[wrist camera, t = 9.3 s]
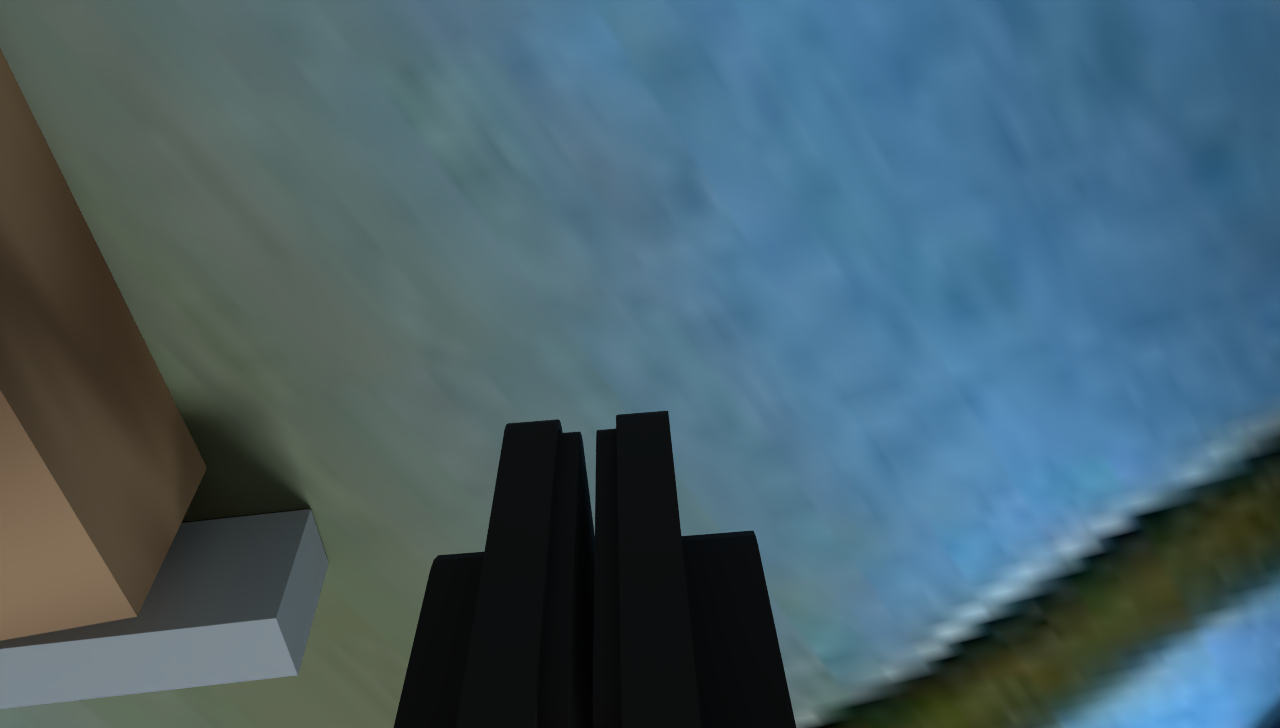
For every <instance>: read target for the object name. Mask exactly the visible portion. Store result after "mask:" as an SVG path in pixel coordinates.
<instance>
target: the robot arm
mask: <svg viewBox="0 0 1280 728" xmlns="http://www.w3.org/2000/svg"><path fill="white" fill-rule="evenodd" d="M394 728H796V724H795V720H794V715H793V710H792V705H791V701H790V696H789V691H788V686H787V682H786V677H785V672H784V667H783V662H782V658H781V653H780V648H779V643H778V639H777V634H776V629H775V624H774V619H773V615H772V610H771V605H770V600H769V596H768V591H767V586H766V581H765V576H764V572H763V567H762V562H761V557H760V553H759V548H758V543H757V540H756V536H755V533H754V531H743V532H730V533H717V534H705V535H692V536H681V529H680V519H679V510H678V500H677V491H676V481H675V472H674V462H673V453H672V443H671V434H670V424H669V415H668V411H659V412H646V413H634V414H621V415H616V429H607V430H597V435H596V502H595V535H594V527H593V519H592V511H591V503H590V495H589V487H588V479H587V471H586V463H585V455H584V447H583V440H582V435H581V432H570V433H563V432H562V427H561V423H560V420H546V421H534V422H521V423H509V424H507V425H506V427H505V431H504V437H503V443H502V449H501V455H500V461H499V467H498V473H497V479H496V485H495V492H494V498H493V504H492V510H491V516H490V522H489V528H488V534H487V540H486V546H485V552H476V553H463V554H450V555H438V556H437V557H436V558H435V559H434V561H433V564H432V567H431V570H430V574H429V578H428V582H427V586H426V591H425V595H424V599H423V604H422V608H421V612H420V617H419V621H418V625H417V629H416V634H415V638H414V642H413V647H412V651H411V655H410V659H409V664H408V668H407V672H406V677H405V681H404V685H403V690H402V694H401V698H400V702H399V707H398V711H397V715H396V720H395V724H394Z"/></svg>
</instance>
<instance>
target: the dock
mask: <svg viewBox="0 0 1280 728" xmlns="http://www.w3.org/2000/svg"><path fill="white" fill-rule="evenodd" d="M327 567H328V560H327V557H326V554H325V551H324V548H323V545H322V542H321V539H320V535H319V532H318V529H317V526H316V523H315V520H314V517H313V514H312V511H311V509H306V510H297V511H288V512H278V513H269V514H260V515H251V516H242V517H232V518H223V519H214V520H205V521H195V522H186V523H181V525H180V527H179V529H178V531H177V533H176V535H175V537H174V540H173V542H172V544H171V546H170V548H169V550H168V552H167V554H166V556H165V559H164V561H163V563H162V565H161V567H160V569H159V571H158V573H157V576H156V578H155V580H154V582H153V584H152V586H151V588H150V590H149V593H148V595H147V597H146V599H145V601H144V603H143V605H142V607H141V610H140V612H139V614H138V616H137V617H132V618H126V619H120V620H115V621H109V622H104V623H98V624H92V625H87V626H81V627H75V628H70V629H64V630H58V631H53V632H47V633H42V634H36V635H30V636H25V637H19V638H13V639H8V640H2V641H0V709H5V708H14V707H22V706H31V705H40V704H49V703H58V702H66V701H75V700H84V699H93V698H102V697H110V696H119V695H128V694H137V693H145V692H154V691H163V690H172V689H181V688H189V687H198V686H207V685H216V684H225V683H233V682H242V681H251V680H260V679H268V678H277V677H286V676H295V675H298V672H299V669H300V665H301V661H302V658H303V654H304V651H305V647H306V643H307V640H308V636H309V632H310V629H311V625H312V621H313V618H314V614H315V611H316V607H317V603H318V600H319V596H320V592H321V589H322V585H323V581H324V578H325V574H326V571H327Z"/></svg>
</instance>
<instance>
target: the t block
mask: <svg viewBox="0 0 1280 728" xmlns="http://www.w3.org/2000/svg"><path fill="white" fill-rule="evenodd" d="M206 469H207V467H206V465H205V463H204V461H203V459H202V457H201V455H200V453H199V451H198V448H197V446H196V444H195V442H194V440H193V438H192V436H191V434H190V432H189V430H188V428H187V426H186V424H185V422H184V420H183V418H182V416H181V414H180V412H179V410H178V408H177V406H176V404H175V402H174V400H173V398H172V396H171V394H170V392H169V390H168V388H167V386H166V384H165V382H164V380H163V377H162V375H161V373H160V371H159V369H158V367H157V365H156V363H155V361H154V359H153V357H152V355H151V353H150V351H149V349H148V347H147V345H146V343H145V341H144V339H143V337H142V335H141V333H140V331H139V329H138V327H137V325H136V323H135V321H134V319H133V317H132V315H131V313H130V311H129V309H128V306H127V304H126V302H125V300H124V298H123V296H122V294H121V292H120V290H119V288H118V286H117V284H116V282H115V280H114V278H113V276H112V274H111V272H110V270H109V268H108V266H107V264H106V262H105V260H104V258H103V256H102V254H101V252H100V250H99V248H98V246H97V244H96V242H95V240H94V238H93V235H92V233H91V231H90V229H89V227H88V225H87V223H86V221H85V219H84V217H83V215H82V213H81V211H80V209H79V207H78V205H77V203H76V201H75V199H74V197H73V195H72V193H71V191H70V189H69V187H68V185H67V183H66V181H65V179H64V177H63V175H62V173H61V171H60V169H59V167H58V164H57V162H56V160H55V158H54V156H53V154H52V152H51V150H50V148H49V146H48V144H47V142H46V140H45V138H44V136H43V134H42V132H41V130H40V128H39V126H38V124H37V122H36V120H35V118H34V116H33V114H32V112H31V110H30V108H29V106H28V104H27V102H26V100H25V98H24V96H23V93H22V91H21V89H20V87H19V85H18V83H17V81H16V79H15V77H14V75H13V73H12V71H11V69H10V67H9V65H8V63H7V61H6V59H5V57H4V55H3V53H2V51H1V49H0V641H2V640H8V639H13V638H19V637H25V636H30V635H36V634H42V633H47V632H53V631H58V630H64V629H70V628H75V627H81V626H87V625H92V624H98V623H104V622H109V621H115V620H120V619H126V618H132V617H137V616H138V614H139V612H140V610H141V607H142V605H143V603H144V601H145V599H146V597H147V595H148V593H149V590H150V588H151V586H152V584H153V582H154V580H155V578H156V576H157V573H158V571H159V569H160V567H161V565H162V563H163V561H164V559H165V556H166V554H167V552H168V550H169V548H170V546H171V544H172V542H173V540H174V537H175V535H176V533H177V531H178V529H179V527H180V525H181V523H182V520H183V518H184V516H185V514H186V512H187V510H188V508H189V506H190V503H191V501H192V499H193V497H194V495H195V493H196V491H197V489H198V486H199V484H200V482H201V480H202V478H203V476H204V474H205V472H206Z"/></svg>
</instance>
